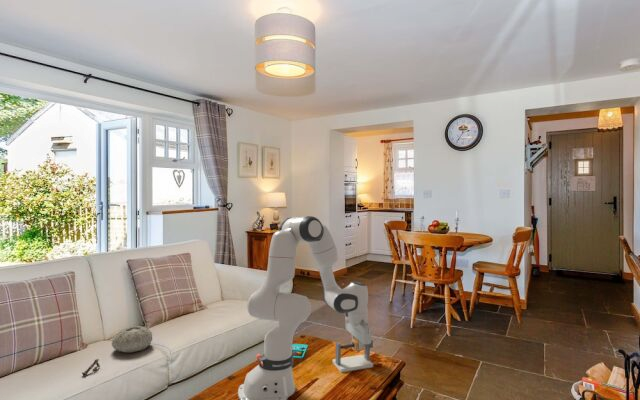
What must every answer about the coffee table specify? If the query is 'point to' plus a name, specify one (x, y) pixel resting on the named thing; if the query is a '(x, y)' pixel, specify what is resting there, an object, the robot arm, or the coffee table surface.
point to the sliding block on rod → (352, 359)
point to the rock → (132, 339)
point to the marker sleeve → (356, 345)
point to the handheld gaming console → (299, 349)
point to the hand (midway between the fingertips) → (357, 346)
